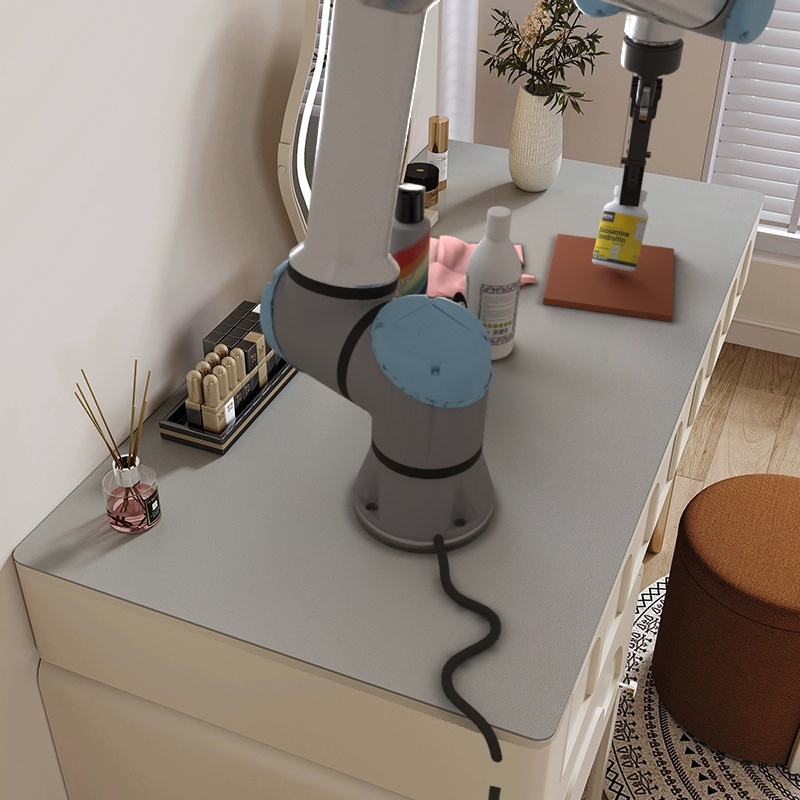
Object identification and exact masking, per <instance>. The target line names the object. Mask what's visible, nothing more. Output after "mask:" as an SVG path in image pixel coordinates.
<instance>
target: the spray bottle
mask: <svg viewBox="0 0 800 800" xmlns="http://www.w3.org/2000/svg"><path fill="white" fill-rule="evenodd" d="M425 212H426V187H425V186H423V185H421V184H416V183H409V182H399V188H398V195H397V201H396V207H395V213H394V219H393V226H392V232H391V238H390V244H389V250H388V251H389V253H390V254H391V256H392V257H393V258H394V259H395V261H396V262H397V263H398V265H399V267H400V274H399V280H398V286H397V292H396V298H400V297H404V296H408V295H426V296H427V292H428V273H429V253H430V237H431V234H432V233H431V232H432V231H431V229H432V222H431V219H430V218H429V216H427V215H426V213H425Z"/></svg>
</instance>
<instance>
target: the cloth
mask: <svg viewBox="0 0 800 800" xmlns="http://www.w3.org/2000/svg"><path fill="white" fill-rule="evenodd" d="M478 244H479V243H467V242H466V241H464V240H461V239H459V238H457V237H454V236H450V235H440V236H439V239H438V238H434V237H431V236H430V253H429V273H428V292H427V297H428V298H429V299H434V298H436V297H441V298H453V297H454V295H455V294H456V293H457V292H461V293H462V294H463V295H464V297H465V284H466V271H467V265H468V261H469V258H470V256H471V254H472V252H473V250H474V249H475V248H476V246H477V245H478ZM513 245H514V247H515V248H516V250H517V252H518V255H519V257H520V261H521V266H523V265H524V257H523V250H522V245H521V244H513ZM535 283H536V277H535V276H534V275H530V274H528V273H522V274H521V283H520V287H522V286H525V285H526V284H535Z"/></svg>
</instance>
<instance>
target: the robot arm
mask: <svg viewBox="0 0 800 800" xmlns="http://www.w3.org/2000/svg"><path fill="white" fill-rule="evenodd" d="M440 1H441V0H333V5H332V12H331V13H332V14H331V21H330V29H329V39H328V47H327V55H326V63H325V73H324V82H323V88H322V89H323V90H322V98H321V105H320V106H321V107H320V115H319V122H318V131H317V140H316V141H317V142H316V148H315V157H314V166H313V173H312V181H311V191H310V199H309V207H308V214H307V215H308V216H307V224H306V230H305V231H306V233H305V239H304V240H302V241H301V242H300V243H298V244H297V245H295V246H293V248H291V250H290V251H289V254H288V259H286V260H284V261H283V262H282V263H281V264H279V265H278V266H277V267H276V269H275V270H274V271H273V273H272V276H273V280H272V281H268V282H267V283H266V284H265V286H264V289H263V292H262V295H261V300H260V304H259V321H260V327H261V331H262V334H263V337H264V340H265V341H266V343H267V345H268V346H269V347H270V348H271V349H272V351H273V352H274V353H276V355H278V356H279V357H280V358H282V359H283V360H284V361H285V363H287V364H288V365H290V366H291V367H292V368H293V369H295V370H296V371H298V372H300V373H301V374H306V375H308V376H309V377H310V378H312V379H314V380H315V381H317V382H319V383H320V384H322V385H324V386H325V387H326V388H328V389H330V390H331V391H334V392H335V393H336V394H338V395H340V396H341V397H343V398H344V399H346V400H347V401H349V402H350V403H352V404H354V405H355V406H357V407H359V408H360V409H362V410H363V411H365V412H366V413H368V415H369V416H370V418H371V438H370V439H371V441H370V446H369V449H368V451H367V453H366V455H365V458H364V460H363V461H362V464H361V466H360V469H359V470H358V474H357V476H356V479H355V483H354V486H353V509H354V513H355V515H356V518H357V519H358V522H359V523H360V525H361V526H362V527H363V528H364V530H365V531H366V532H368V533H369V534H370V535H371V536H373V537H374V538H376V539H377V540H378V541H380V542H382V543H383V544H385V545H388V546H390V547H394V548H396V549H400V550H403V551H408V552H414V553H436V558H437V563H438V570H439V578H440V583H441V584H440V585H441V587H442V588H443V590H444V592H445V593H446V595H447V596H448V597H449V598H450V599H451V600H452V601H454V602H455V603H457V604H458V605H460V606H461V607H464V608H466V609H468V610H470V611H471V612H472V611H473V612H474V613H476V614H479V615H481V616H483V617H485V618H486V619H487V620H488V622H489V624H490V630H489V632H488V633H487V635H486V636H485V637H483V638H482V639H480V640H478V641H477V642H474V643H473V644H470V645H469V646H466V647H465V648H463V649H462V650H460V651H457V652H456V653H455V654H454V655H452V656H451V657H450V658H449V659H448V660H446V662H445V664H444V666H443V668H442V670H441V674H440V675H441V677H440V679H441V680H440V681H441V683H440V684H441V688H442V691H443V693H444V695H445V696H446V698H447V699H448V701H449V702H450V703H451V704H452V705H453V706H454V707H455V708H456V709H457V710H458V711H459V712H461V713H462V714H463V715H464V716H465V717H467V718H468V719H469V720H470V721H471V722H472V724H473V725H475V726H476V727H477V729H478V730H479V731H480V733H481V735H482V736H483V738H484V740H485V742H486V745H487V747H488V750H489V754H490V758H491V760H492V762H495V763H497V764H498V763H501V762H502V760H503V754H502V753H503V752H502V749H501V748H502V747H501V745H500V741H499V739H498V736H497V735H496V732H495V731H494V729H493V728H492V726H491V724H490V723H489V722H488V721H487V719H486V718H485V717H484V716H483V715H482V714H481V712H479V711H478V710H477V709H476V708H474V707H473V706H472V705H471V704H470V703H468V702H467V701H466V699H464V698H463V697H462V696H461V695H460V693H458V691H456V689H455V687H454V684H453V673H454V672H455V670H456V669H457V667H459V666H460V665H461V664H462V663H464V662H465V661H467V660H469V659H471V658H473V657H475V656H476V655H479V654H480V653H482V652H484V651H486V650H487V649H489V648H491V647H492V646H493V645H494V644H495V643H496V642H497V641H498V640H499V638H500V635H501V631H502V623H501V619H500V617H499V615H498V614H497V613H496V612H495V611H494V610H493V609H491V608H490V607H489V606H487V605H485V604H483V603H481V602H480V601H476V600H474V599H472V598H470V597H468V596H466V595H464V594H462V593H461V592H460V591H458V589H456V587H455V586H454V585H453V583H452V579H451V572H450V563H449V559H448V553H447V551H450V550H454V549H459V548H460V547H463V546H465V545H467V544H469V543H471V542H472V541H474V540H476V539H477V538H478V537H479V536H481V534H483V532H484V531H485V530H486V529H487V527H488V526H489V524H490V523H491V520H492V517H493V513H494V505H495V490H494V489H495V488H494V484H493V480H492V478H491V474H490V471H489V468H488V466H487V462H486V458H485V455H484V451H483V447H484V445H483V444H484V437H485V428H486V426H485V425H486V418H487V410H488V409H487V408H488V401H489V391H490V385H491V382H492V375H493V367H492V366H493V365H492V360H491V344H490V339H489V335H488V333H487V331H486V329H485V327H484V325H483V324H482V322H481V321H480V320H479V319H478V318H477V317H476V316H475V315H474V314H473V313H472V312H470V311H469V310H468V309H466V308H465V307H463V306H461V305H460V304H458V303H456V302H453V301H451V300H452V299H451V300H450V299H448V298H446V297H439V296H435V297H434V298H430V297H427V296H426V295H408V296H404V297H400V298H396V292H397V286H398V280H399V274H400V267H399V265H398V263H397V262H396V261H395V259H394V258H393V257H392V256H391V254H390V253H389V251H388V250H389V244H390V238H391V232H392V226H393V219H394V213H395V207H396V201H397V195H398V188H399V184H400V183H401V175H402V169H403V162H404V156H405V151H406V150H405V149H406V144H407V137H408V134H409V133H408V132H409V126H410V120H411V114H412V107H413V100H414V94H415V88H416V82H417V76H418V70H419V63H420V57H421V51H422V45H423V41H424V33H425V26H426V19H427V14H428V12H429V11H430V9H431V8H432V7H434V6H435V5H436V4H437V3H439V2H440ZM776 1H777V0H573V2H574V4H575V6H576V7H577V8H578V10H580V11H581V13H583V14H584V15H586V16H588V17H590V18H593V19H601V18H602V19H603V18H605V17H607V18H608V17H612V16H616V15H617V14H619V13H622V14H623V13H624V14H626V15H625V22H624V32H625V34H626V35H625V36H624V37H623V40H622V47H621V56H620V64H621V67H623V68H624V70H626V71H628V72H630V73H632V74H633V73H634V74H636V75H632V79H631V87H630V94H629V97H630V99H631V100H630V105H629V106H630V108H629V117H630V118H631V124H630V131H629V138H628V139H627V145H628V147H627V149H626V157H624V156H623V157H621V158H620V165H624V167H623V174H622V180H621V181H622V182H621V186H622V187H621V194H620V201H619V205H624V206H634V207H639V200H640V194H641V190H642V186H643V182H644V181H643V180H644V174H645V168H646V165H647V159H651V156H652V152H651V151H648V147H649V143H650V135H651V130H652V123H653V120H655V119H656V117H657V111H658V106H659V102H660V100H661V98H662V93H663V82H664V78H663V77H661V76H668V75H671V74H673V73H676V72H677V71H678V70H679V69H680V67H681V62H682V55H683V50H684V43H685V42H684V40H683V38H684V37H685V36H686V31H689V32H693V33H696V34H700V35H703V36H706V37H710V38H713V39H716V40H720V41H722V42H730V43H735V44H739V45H748V44H751V43H753V42H754V41H756V40H757V39H758V38H759V37H760V36H761V35H762V34H763V32H764V31H765V30H766V27H767V26H768V24H769V22H770V19H771V17H772V14H773V12H774V9H775V6H776ZM501 790H502V787H500V786H495V785H489V788H488V798H487V800H500V797H501Z"/></svg>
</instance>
